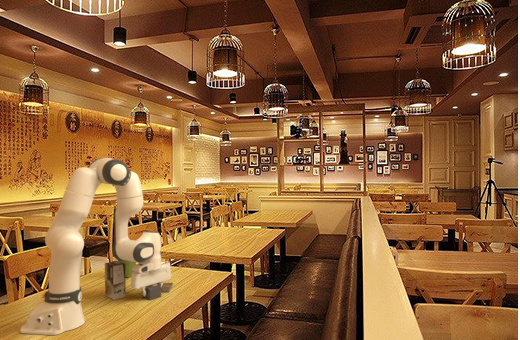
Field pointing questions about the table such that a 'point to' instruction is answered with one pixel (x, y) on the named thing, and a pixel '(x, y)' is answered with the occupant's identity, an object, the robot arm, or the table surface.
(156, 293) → the grey drawer unit
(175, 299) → the table surface
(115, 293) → the coffee box
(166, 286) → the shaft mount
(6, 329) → the table surface
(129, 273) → the plant pot
